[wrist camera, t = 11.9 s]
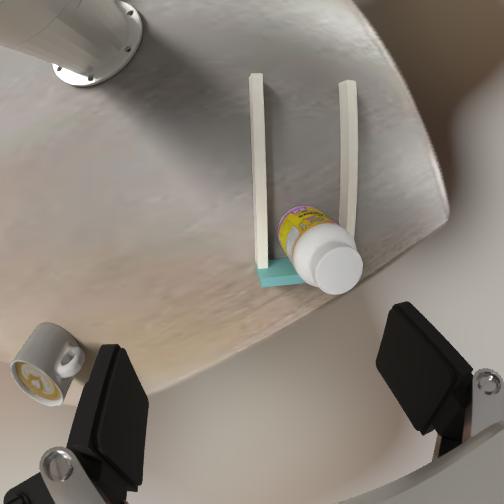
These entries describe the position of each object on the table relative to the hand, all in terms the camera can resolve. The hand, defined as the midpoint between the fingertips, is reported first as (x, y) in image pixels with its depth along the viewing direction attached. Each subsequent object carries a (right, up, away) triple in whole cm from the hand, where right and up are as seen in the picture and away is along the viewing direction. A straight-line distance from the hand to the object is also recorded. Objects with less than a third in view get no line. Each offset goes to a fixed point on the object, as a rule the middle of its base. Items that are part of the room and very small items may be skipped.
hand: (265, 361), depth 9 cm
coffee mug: (-32, -12, +30) cm, 45 cm away
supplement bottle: (+6, +7, +27) cm, 29 cm away
